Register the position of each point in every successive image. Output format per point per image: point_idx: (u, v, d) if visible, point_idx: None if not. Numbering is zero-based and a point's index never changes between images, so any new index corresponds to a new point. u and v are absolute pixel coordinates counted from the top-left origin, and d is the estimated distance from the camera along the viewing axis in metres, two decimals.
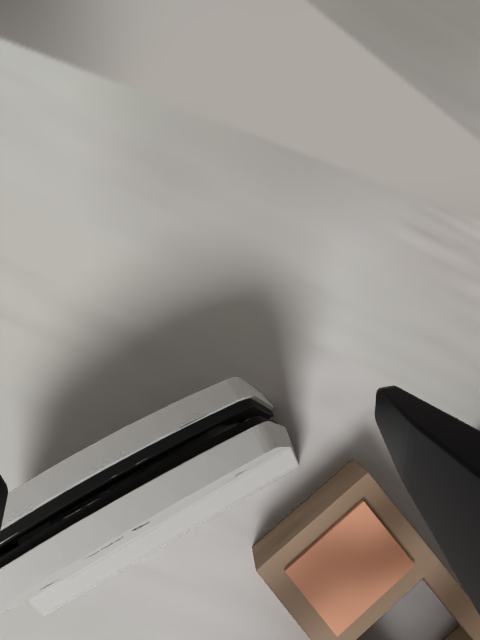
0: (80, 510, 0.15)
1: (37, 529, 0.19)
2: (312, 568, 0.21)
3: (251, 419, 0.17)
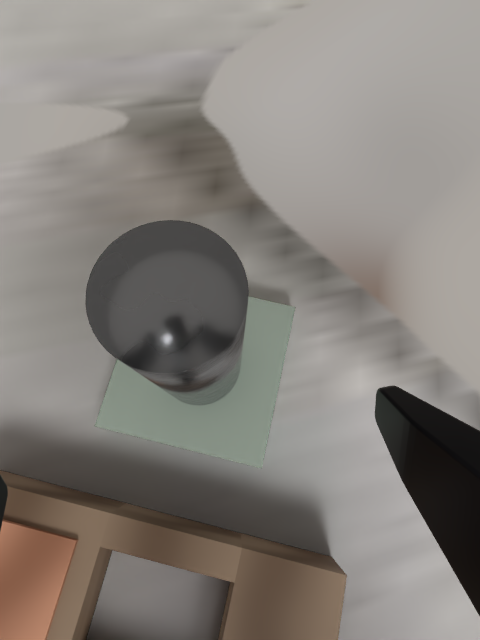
0: None
1: None
2: None
3: None
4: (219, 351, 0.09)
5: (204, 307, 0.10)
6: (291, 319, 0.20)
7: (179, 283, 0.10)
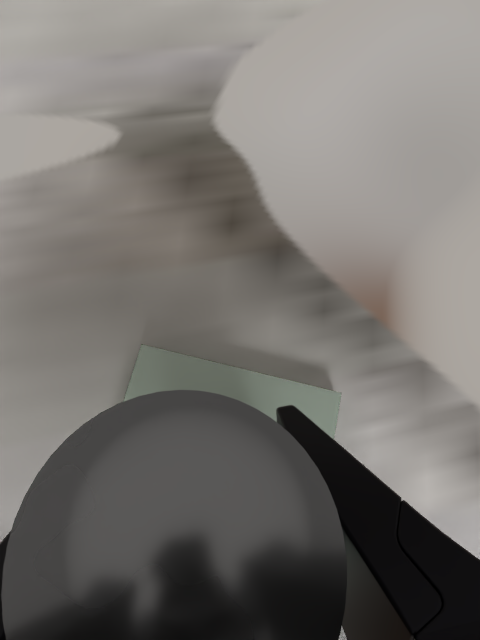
0: None
1: None
2: None
3: None
4: None
5: (256, 601, 0.04)
6: (336, 410, 0.15)
7: (201, 540, 0.05)
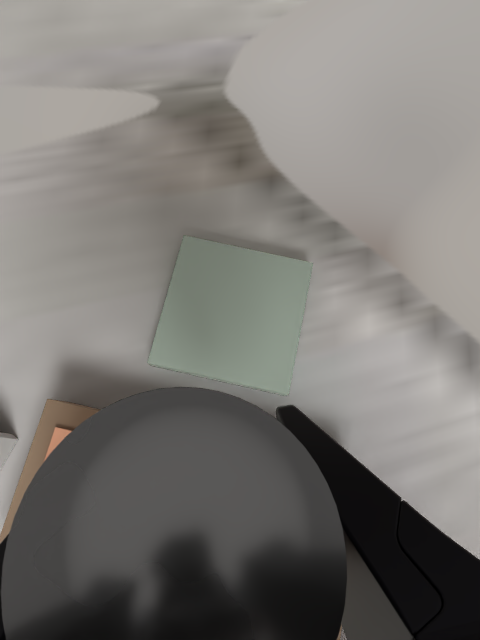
0: None
1: None
2: None
3: None
4: None
5: (255, 598, 0.04)
6: (310, 273, 0.23)
7: (201, 537, 0.05)
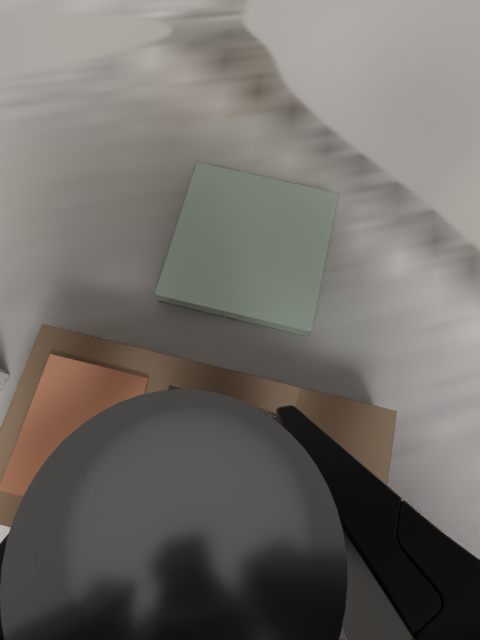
0: None
1: None
2: (30, 463, 0.16)
3: None
4: None
5: (255, 601, 0.04)
6: (335, 204, 0.21)
7: (200, 540, 0.05)
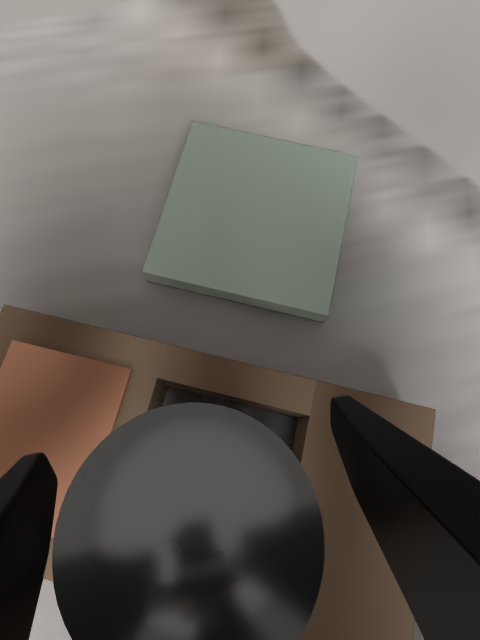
0: None
1: None
2: None
3: None
4: None
5: (252, 569, 0.06)
6: (354, 168, 0.18)
7: (209, 523, 0.06)
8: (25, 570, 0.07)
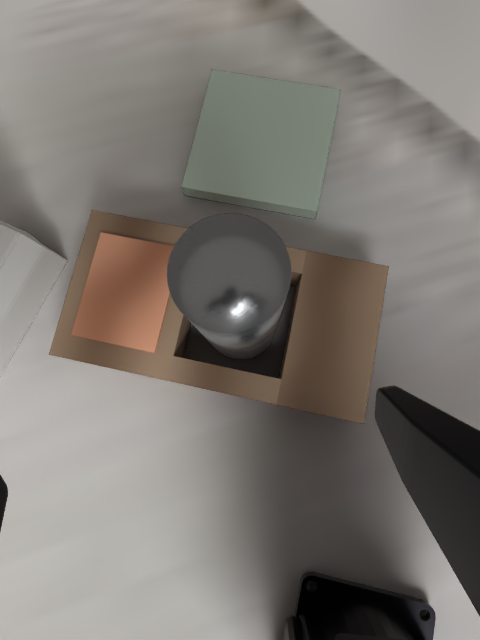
0: None
1: None
2: (93, 314, 0.20)
3: None
4: (271, 315, 0.12)
5: (258, 282, 0.13)
6: (337, 99, 0.24)
7: (237, 264, 0.13)
8: None
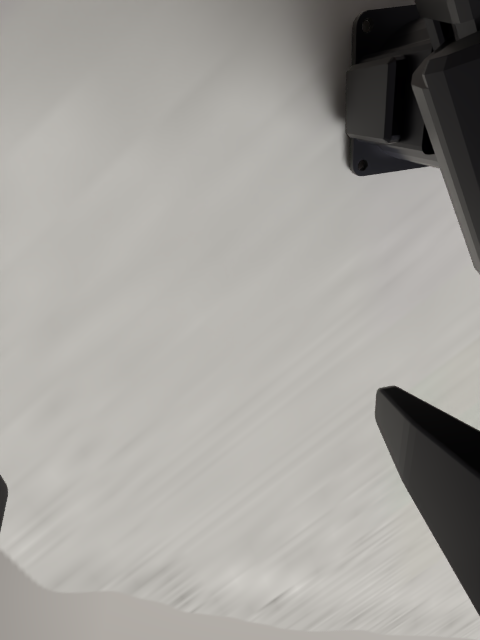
0: None
1: None
2: None
3: None
4: None
5: None
6: None
7: None
8: None
